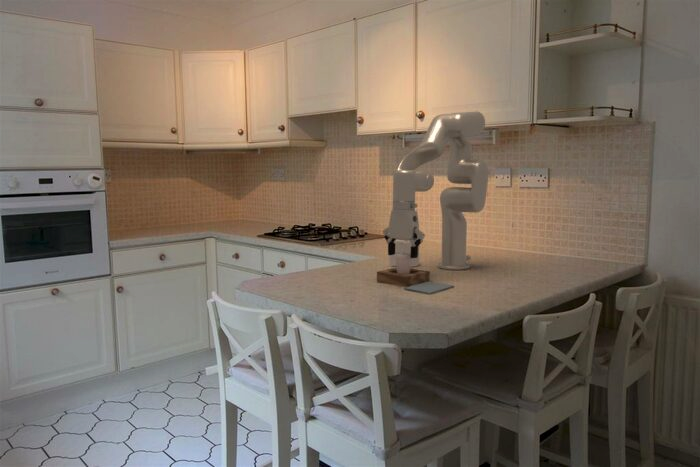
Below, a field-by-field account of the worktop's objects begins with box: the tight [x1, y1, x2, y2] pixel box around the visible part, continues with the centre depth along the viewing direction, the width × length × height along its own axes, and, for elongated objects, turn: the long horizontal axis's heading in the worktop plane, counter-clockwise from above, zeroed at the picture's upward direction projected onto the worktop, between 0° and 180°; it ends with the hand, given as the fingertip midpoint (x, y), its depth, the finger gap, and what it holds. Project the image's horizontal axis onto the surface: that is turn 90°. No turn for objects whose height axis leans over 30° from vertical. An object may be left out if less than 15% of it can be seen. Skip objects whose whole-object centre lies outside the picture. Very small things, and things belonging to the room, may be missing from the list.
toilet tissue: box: [388, 239, 420, 268], centre depth 218 cm, size 11×12×10 cm
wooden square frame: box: [376, 267, 431, 288], centre depth 186 cm, size 13×13×4 cm
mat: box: [403, 281, 455, 295], centre depth 176 cm, size 14×10×1 cm
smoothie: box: [394, 242, 412, 275], centre depth 186 cm, size 6×6×14 cm
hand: (402, 256), depth 185 cm, fingers open, 9 cm apart
